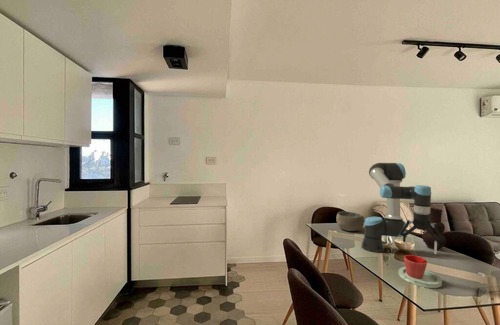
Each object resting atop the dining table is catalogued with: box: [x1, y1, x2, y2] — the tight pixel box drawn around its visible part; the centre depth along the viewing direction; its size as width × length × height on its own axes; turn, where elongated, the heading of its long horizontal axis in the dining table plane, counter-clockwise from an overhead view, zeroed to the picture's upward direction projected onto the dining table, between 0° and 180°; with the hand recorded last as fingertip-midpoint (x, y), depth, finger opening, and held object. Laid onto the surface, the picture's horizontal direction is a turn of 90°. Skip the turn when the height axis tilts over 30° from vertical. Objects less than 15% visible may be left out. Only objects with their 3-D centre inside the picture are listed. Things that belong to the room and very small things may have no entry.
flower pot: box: [403, 254, 428, 279], centre depth 137 cm, size 11×11×10 cm
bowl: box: [335, 211, 365, 232], centre depth 227 cm, size 24×24×15 cm
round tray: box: [398, 266, 443, 289], centre depth 136 cm, size 20×20×2 cm
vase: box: [421, 207, 448, 251], centre depth 184 cm, size 15×15×30 cm
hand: (420, 250), depth 136 cm, fingers open, 13 cm apart
